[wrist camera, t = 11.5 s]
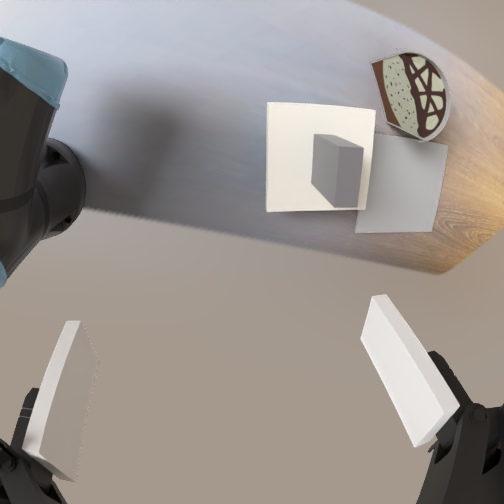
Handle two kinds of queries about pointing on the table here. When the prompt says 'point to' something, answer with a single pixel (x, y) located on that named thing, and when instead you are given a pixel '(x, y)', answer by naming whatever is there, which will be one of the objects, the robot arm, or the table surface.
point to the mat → (402, 185)
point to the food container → (413, 93)
